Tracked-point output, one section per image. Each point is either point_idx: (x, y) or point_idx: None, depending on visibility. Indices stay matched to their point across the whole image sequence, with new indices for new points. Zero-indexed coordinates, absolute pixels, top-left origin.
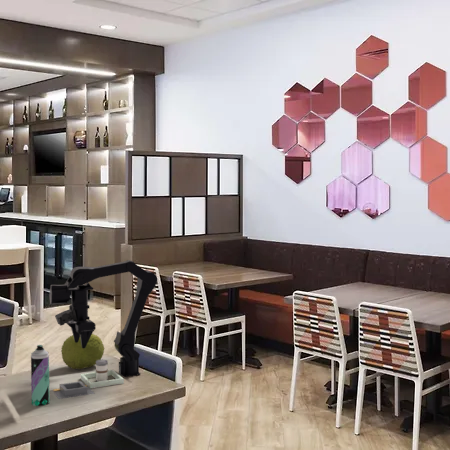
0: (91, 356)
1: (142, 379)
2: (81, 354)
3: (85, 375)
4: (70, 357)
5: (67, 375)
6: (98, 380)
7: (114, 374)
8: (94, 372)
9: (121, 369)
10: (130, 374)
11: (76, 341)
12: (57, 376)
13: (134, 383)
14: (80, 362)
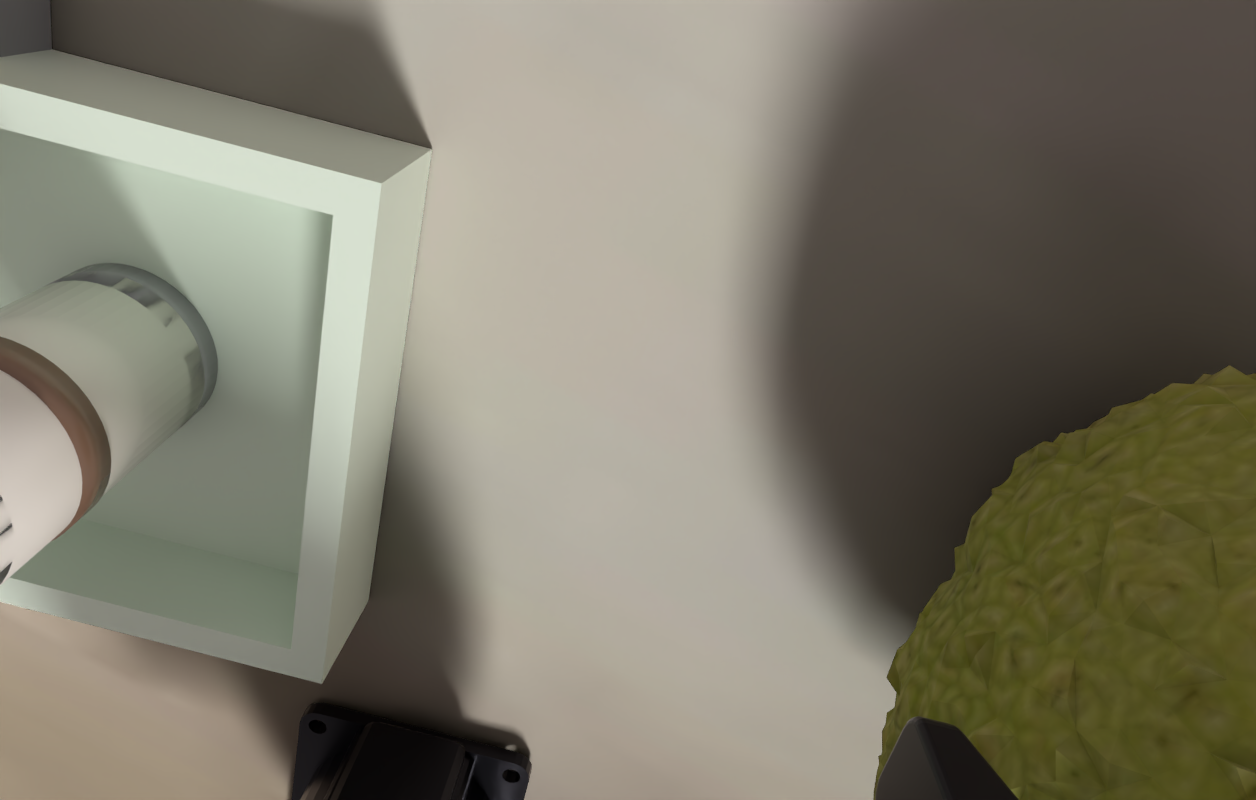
0: (882, 754)
1: (134, 777)
2: (970, 642)
3: (341, 250)
4: (1176, 444)
5: (972, 191)
6: (32, 293)
7: (162, 598)
8: (340, 424)
9: (344, 774)
10: (308, 781)
11: (897, 774)
12: (1073, 8)
13: (29, 648)
14: (971, 529)
